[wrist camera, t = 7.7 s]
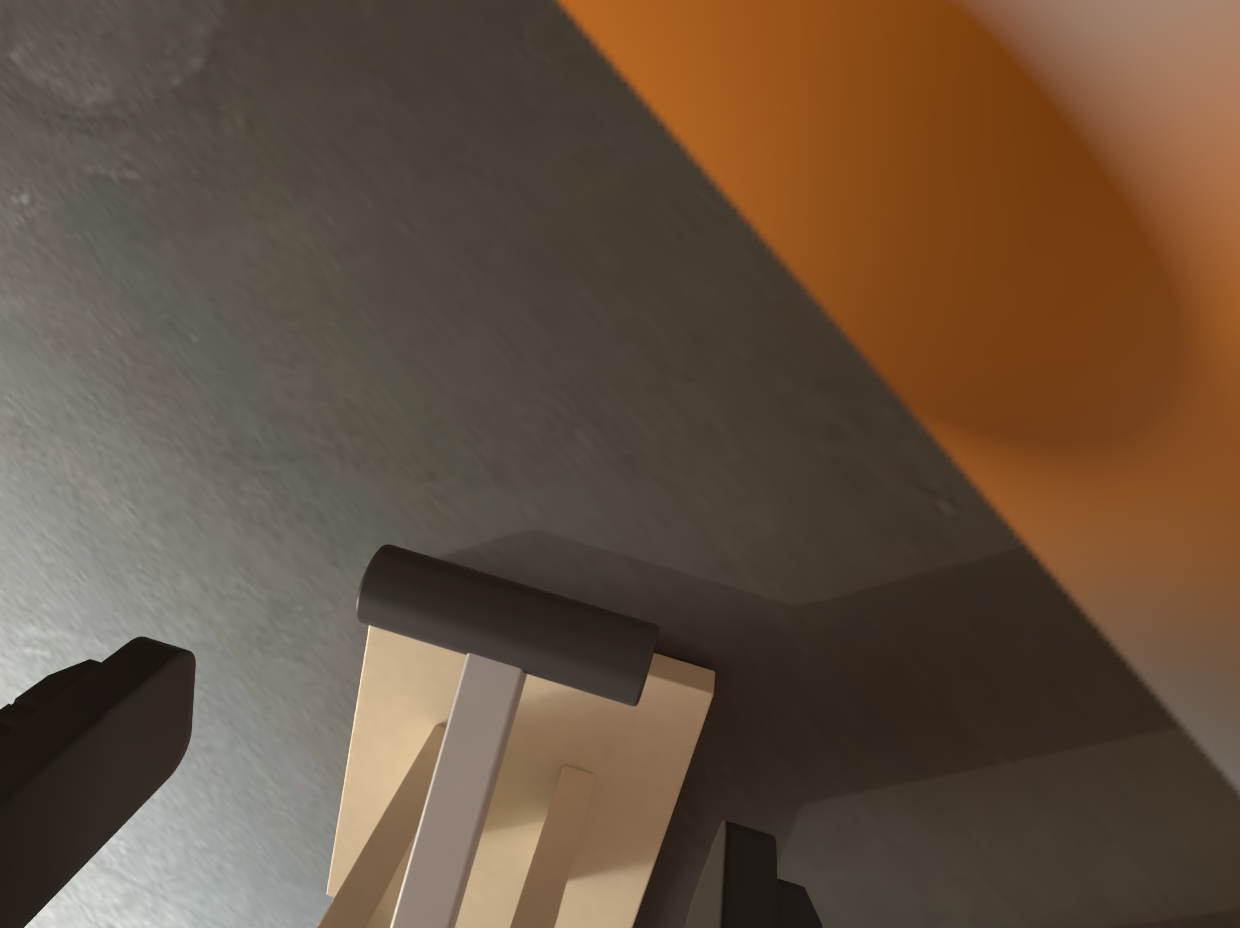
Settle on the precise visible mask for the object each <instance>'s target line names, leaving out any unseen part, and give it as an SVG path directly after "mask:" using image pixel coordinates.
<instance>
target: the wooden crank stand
mask: <svg viewBox="0 0 1240 928" xmlns="http://www.w3.org/2000/svg"><path fill="white" fill-rule="evenodd" d="M466 656H467V655H464V654H461V653H457V652H454V651H451V650H448V649H444V648H441V647H438V646H435V645H431V644H428V643H425V642H422V641H418V640H415V639H412V638H409V637H405V636H402V635H399V634H396V633H393V632H389V631H386V630H383V629H380V628H376V627H373V626H370V625H369V630H368V637H367V643H366V649H365V655H364V662H363V668H362V674H361V680H360V687H359V693H358V699H357V706H356V712H355V718H354V724H353V731H352V737H351V743H350V749H349V756H348V762H347V768H346V774H345V781H344V787H343V793H342V800H341V806H340V812H339V818H338V825H337V831H336V837H335V843H334V850H333V856H332V862H331V868H330V875H329V881H328V887H327V895H329V896H332V897H334V899H333V901H332V902H331V904H330V906H329V908H328V909H327V911H326V913H325V914H324V916H323V918H322V920H321V921H320V923H319V925H318V926H317V928H390V926H391V922H392V919H393V915H394V912H395V908H396V905H397V901H398V897H399V894H400V890H401V887H402V883H403V880H404V876H405V873H406V869H407V865H408V862H409V858H410V855H411V851H412V848H413V844H414V841H415V837H416V833H417V830H418V826H419V823H420V819H421V816H422V812H423V809H424V805H425V801H426V798H427V794H428V791H429V787H430V784H431V780H432V777H433V773H434V769H435V766H436V762H437V759H438V755H439V752H440V748H441V745H442V741H443V737H444V734H445V730H446V727H447V723H448V720H449V716H450V713H451V709H452V705H453V702H454V698H455V695H456V691H457V688H458V684H459V681H460V677H461V673H462V670H463V666H464V663H465V659H466ZM714 681H715V672H714V671H712V670H709V669H706V668H703V667H699V666H696V665H693V664H689V663H686V662H683V661H679V660H676V659H673V658H670V657H666V656H663V655H660V654H656V653H654V654H653V657H652V661H651V665H650V668H649V672H648V675H647V679H646V682H645V685H644V689H643V692H642V695H641V698H640V701H639V703H638V704H637V706H629V705H626V704H623V703H620V702H616V701H613V700H610V699H607V698H603V697H600V696H597V695H594V694H590V693H587V692H584V691H581V690H577V689H574V688H571V687H568V686H565V685H561V684H558V683H555V682H552V681H548V680H545V679H542V678H539V677H535V676H532V675H529V674H527V677H526V680H525V684H524V687H523V691H522V694H521V698H520V701H519V705H518V708H517V712H516V715H515V719H514V722H513V726H512V729H511V733H510V736H509V740H508V743H507V747H506V750H505V754H504V757H503V761H502V764H501V768H500V771H499V775H498V778H497V782H496V785H495V789H494V792H493V796H492V799H491V803H490V807H489V810H488V814H487V817H486V821H485V824H484V828H483V831H482V835H481V838H480V842H479V845H478V849H477V852H476V856H475V859H474V863H473V866H472V870H471V873H470V877H469V880H468V884H467V887H466V891H465V894H464V898H463V901H462V905H461V908H460V912H459V915H458V919H457V922H456V926H455V928H633V925H634V922H635V919H636V917H637V914H638V911H639V908H640V905H641V902H642V899H643V896H644V894H645V891H646V888H647V885H648V882H649V879H650V876H651V873H652V870H653V868H654V865H655V862H656V859H657V856H658V853H659V850H660V847H661V845H662V842H663V839H664V836H665V833H666V830H667V827H668V824H669V821H670V819H671V816H672V813H673V810H674V807H675V804H676V801H677V798H678V796H679V793H680V790H681V787H682V784H683V781H684V778H685V775H686V773H687V770H688V767H689V764H690V761H691V758H692V755H693V752H694V749H695V747H696V744H697V741H698V738H699V735H700V732H701V729H702V726H703V724H704V721H705V718H706V715H707V712H708V709H709V706H710V703H711V700H712V698H713V693H714Z"/></svg>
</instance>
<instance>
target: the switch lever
mask: <svg viewBox="0 0 1240 928" xmlns="http://www.w3.org/2000/svg"><path fill="white" fill-rule="evenodd" d="M356 617H357V619H358V620H359V621H360V622H361V623H363V624H367V625H370V626H373V627H376V628H380V629H383V630H386V631H389V632H393V633H396V634H399V635H402V636H405V637H409V638H412V639H415V640H418V641H422V642H425V643H428V644H431V645H435V646H438V647H441V648H444V649H448V650H451V651H454V652H457V653H461V654H464V655H467V656H466V659H465V663H464V666H463V670H462V673H461V677H460V681H459V684H458V688H457V691H456V695H455V698H454V702H453V705H452V709H451V713H450V716H449V720H448V723H447V727H446V730H445V734H444V737H443V741H442V745H441V748H440V752H439V755H438V759H437V762H436V766H435V769H434V773H433V777H432V780H431V784H430V787H429V791H428V794H427V798H426V801H425V805H424V809H423V812H422V816H421V819H420V823H419V826H418V830H417V833H416V837H415V841H414V844H413V848H412V851H411V855H410V858H409V862H408V865H407V869H406V873H405V876H404V880H403V883H402V887H401V890H400V894H399V897H398V901H397V905H396V908H395V912H394V915H393V919H392V922H391V926H390V928H455V926H456V922H457V919H458V915H459V912H460V908H461V905H462V901H463V898H464V894H465V891H466V887H467V884H468V880H469V877H470V873H471V870H472V866H473V863H474V859H475V856H476V852H477V849H478V845H479V842H480V838H481V835H482V831H483V828H484V824H485V821H486V817H487V814H488V810H489V807H490V803H491V799H492V796H493V792H494V789H495V785H496V782H497V778H498V775H499V771H500V768H501V764H502V761H503V757H504V754H505V750H506V747H507V743H508V740H509V736H510V733H511V729H512V726H513V722H514V719H515V715H516V712H517V708H518V705H519V701H520V698H521V694H522V691H523V687H524V684H525V680H526V677H527V674H529V675H532V676H535V677H539V678H542V679H545V680H548V681H552V682H555V683H558V684H561V685H565V686H568V687H571V688H574V689H577V690H581V691H584V692H587V693H590V694H594V695H597V696H600V697H603V698H607V699H610V700H613V701H616V702H620V703H623V704H626V705H629V706H637V704H638V703H639V701H640V698H641V695H642V692H643V689H644V685H645V682H646V679H647V675H648V672H649V668H650V665H651V661H652V657H653V654H654V650H655V646H656V642H657V638H658V633H659V627H658V626H657V625H655V624H652V623H649V622H645V621H642V620H639V619H636V618H632V617H629V616H626V615H622V614H619V613H616V612H612V611H609V610H606V609H602V608H599V607H596V606H592V605H589V604H586V603H582V602H579V601H576V600H572V599H569V598H566V597H563V596H559V595H556V594H553V593H549V592H546V591H543V590H539V589H536V588H533V587H529V586H526V585H523V584H519V583H516V582H513V581H509V580H506V579H503V578H499V577H496V576H493V575H490V574H486V573H483V572H480V571H476V570H473V569H470V568H466V567H463V566H460V565H456V564H453V563H450V562H446V561H443V560H440V559H436V558H433V557H430V556H426V555H423V554H420V553H417V552H413V551H410V550H407V549H403V548H400V547H397V546H393V545H390V544H389V545H384V546H382V547H381V548H380V549H379V550H378V551H377V552H376V553H375V555H374V556H373V558H372V559H371V561H370V563H369V565H368V567H367V569H366V571H365V573H364V576H363V578H362V581H361V584H360V587H359V591H358V595H357V601H356Z"/></svg>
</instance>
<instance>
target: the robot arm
mask: <svg viewBox="0 0 1240 928" xmlns="http://www.w3.org/2000/svg"><path fill="white" fill-rule="evenodd" d="M195 666H196V661H195V656H194V654H193V653H192V652H191V651H189V650H185V649H182V648H179V647H176V646H173V645H169V644H166V643H163V642H160V641H157V640H153V639H150V638H147V637H137V638H135V639H133V640H131V641H130V642H128V643H127V644H126V645H124V646H123V647H122V648H120V649H119V650H118V651H116V652H115V653H114V654H112V655H111V656H110V657H108V658H107V659H106V660H104V661H103V662H102V663H101V662H98V661H94V660H91V659H89V660H87V661H84V662H81V663H79V664H76V665H74V666H71V667H69V668H66V669H63V670H61V671H58V672H56V673H53V674H51V675H48V676H47V677H45V678H44V679H43V680H41V681H40V682H38V683H37V684H36V685H34V686H33V687H31V688H30V689H29V690H27V691H26V692H24V693H23V694H22V695H20V696H19V697H17V698H16V699H15V702H14V703H13V704H12V705H11V704H7V705H6V706H5V707H3V708H2V709H0V928H24V927H25V926H26V925H27V924H28V923H29V922H30V921H31V920H32V919H33V918H34V917H35V916H36V915H37V914H38V913H39V912H40V910H41V909H42V908H43V907H44V906H45V905H46V904H47V903H48V902H49V901H50V900H51V899H52V898H53V897H54V896H55V895H56V894H57V893H58V892H59V891H60V890H61V889H62V888H63V887H64V886H65V885H66V884H67V883H68V882H69V881H70V880H71V878H72V877H73V876H74V875H75V874H76V873H77V872H78V871H79V870H80V869H81V868H82V867H83V866H84V865H85V864H86V863H87V862H88V861H89V860H90V859H91V858H92V857H93V856H94V855H95V854H96V853H97V852H98V851H99V850H100V849H101V848H102V846H103V845H104V844H105V843H106V842H107V841H108V840H109V839H110V838H111V837H112V836H113V835H114V834H115V833H116V832H117V831H118V830H119V829H120V828H121V827H122V826H123V825H124V824H125V823H126V822H127V821H128V820H129V819H130V818H131V817H132V816H133V815H134V813H135V812H136V811H137V810H138V809H139V808H140V807H141V806H142V805H143V804H144V803H145V802H146V801H147V800H148V799H149V798H150V797H151V796H152V795H153V794H154V793H155V792H156V791H157V790H158V789H159V788H160V787H161V786H162V785H163V784H164V783H165V781H166V780H167V779H168V778H169V777H170V776H171V775H172V774H173V772H174V771H175V770H176V768H177V767H178V765H179V764H180V762H181V760H182V758H183V756H184V754H185V752H186V750H187V747H188V745H189V741H190V737H191V731H192V715H193V699H194V683H195ZM685 928H822V924H821V922H820V919H819V917H818V915H817V913H816V911H815V909H814V907H813V905H812V902H811V900H810V898H809V896H808V894H807V892H806V890H805V888H804V887H802V886H799V885H796V884H793V883H790V882H787V881H784V880H780V879H777V858H776V840H775V837H774V836H773V835H770V834H767V833H764V832H761V831H758V830H754V829H751V828H748V827H745V826H742V825H738V824H735V823H732V822H729V821H726V820H723V821H722V822H721V824H720V826H719V828H718V831H717V833H716V836H715V839H714V841H713V844H712V847H711V849H710V852H709V855H708V857H707V860H706V863H705V865H704V868H703V871H702V873H701V876H700V879H699V881H698V884H697V887H696V890H695V892H694V895H693V898H692V901H691V905H690V908H689V912H688V916H687V921H686V925H685Z"/></svg>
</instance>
